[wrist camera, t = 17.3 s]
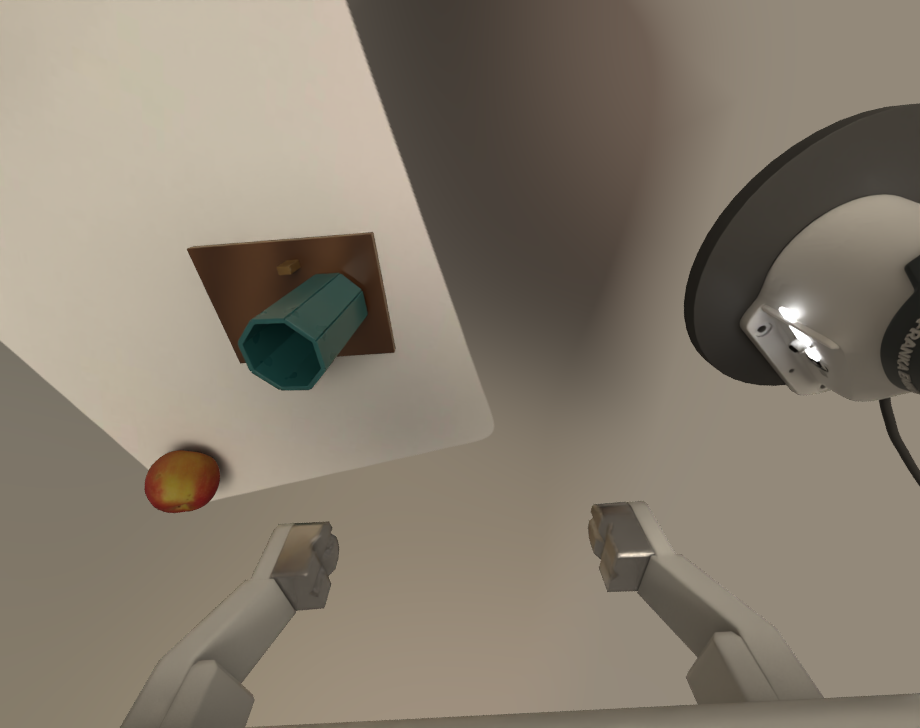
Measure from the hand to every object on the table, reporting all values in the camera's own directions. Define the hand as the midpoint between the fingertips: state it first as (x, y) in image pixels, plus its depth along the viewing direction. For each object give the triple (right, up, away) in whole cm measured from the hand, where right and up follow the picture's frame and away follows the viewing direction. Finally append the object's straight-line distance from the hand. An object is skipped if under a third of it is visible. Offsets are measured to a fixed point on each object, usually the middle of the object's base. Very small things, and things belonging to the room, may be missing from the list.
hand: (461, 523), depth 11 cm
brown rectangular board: (-17, +12, +27) cm, 34 cm away
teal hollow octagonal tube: (-13, +11, +25) cm, 31 cm away
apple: (-36, -8, +39) cm, 54 cm away
